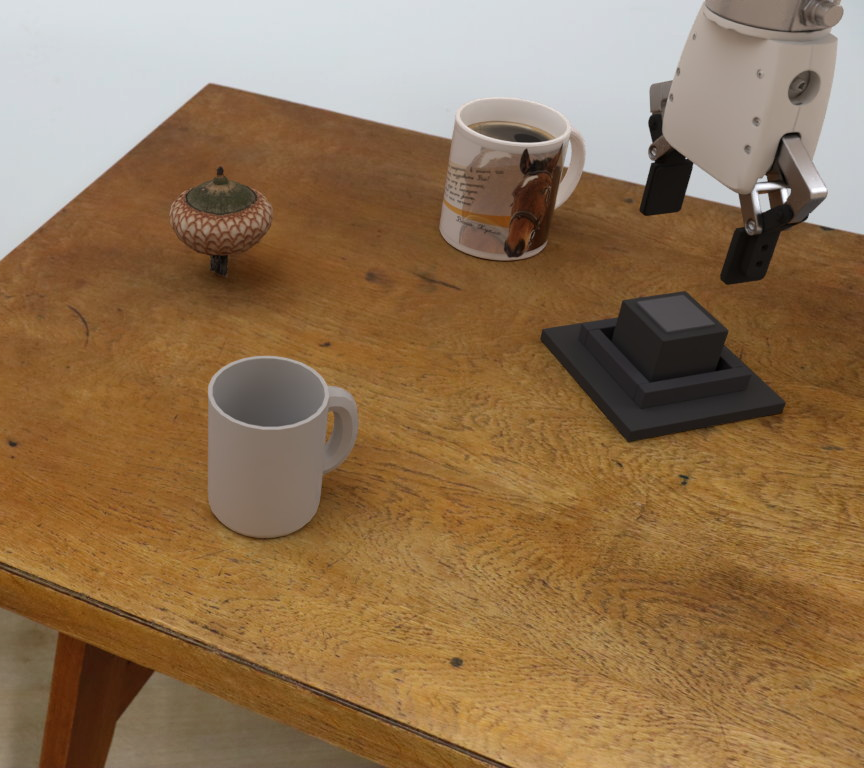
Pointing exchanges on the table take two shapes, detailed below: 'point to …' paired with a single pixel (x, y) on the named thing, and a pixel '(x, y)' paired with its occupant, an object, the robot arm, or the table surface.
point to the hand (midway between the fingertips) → (698, 244)
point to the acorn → (220, 219)
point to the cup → (273, 443)
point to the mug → (507, 176)
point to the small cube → (669, 336)
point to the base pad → (657, 386)
